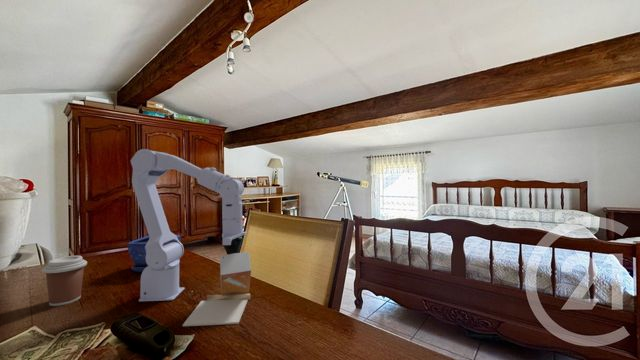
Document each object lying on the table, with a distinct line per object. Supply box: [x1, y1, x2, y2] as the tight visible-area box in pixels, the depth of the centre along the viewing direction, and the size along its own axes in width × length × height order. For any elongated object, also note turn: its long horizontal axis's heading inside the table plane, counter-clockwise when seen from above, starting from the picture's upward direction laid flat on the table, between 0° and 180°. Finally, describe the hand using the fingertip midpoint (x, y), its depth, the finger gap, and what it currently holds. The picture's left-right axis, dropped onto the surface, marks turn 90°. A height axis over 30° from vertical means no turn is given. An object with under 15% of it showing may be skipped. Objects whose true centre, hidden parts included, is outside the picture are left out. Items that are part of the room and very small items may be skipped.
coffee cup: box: [41, 255, 88, 307], centre depth 73 cm, size 9×9×12 cm
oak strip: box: [206, 293, 251, 301], centre depth 73 cm, size 12×1×2 cm, turn 96°
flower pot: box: [127, 234, 181, 273], centre depth 100 cm, size 13×13×12 cm
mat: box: [182, 299, 249, 327], centre depth 67 cm, size 13×12×1 cm
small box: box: [219, 251, 252, 295], centre depth 74 cm, size 8×6×13 cm
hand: (233, 263), depth 76 cm, fingers closed, pressing on small box
